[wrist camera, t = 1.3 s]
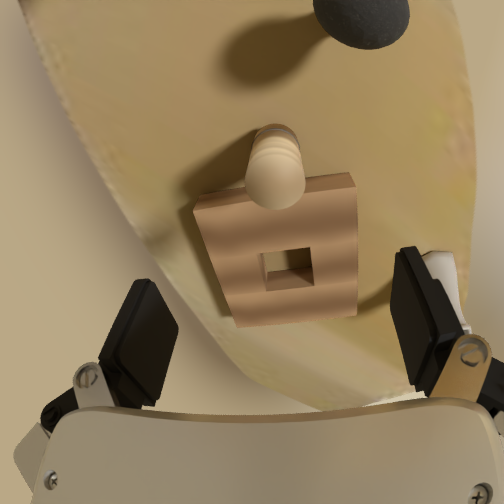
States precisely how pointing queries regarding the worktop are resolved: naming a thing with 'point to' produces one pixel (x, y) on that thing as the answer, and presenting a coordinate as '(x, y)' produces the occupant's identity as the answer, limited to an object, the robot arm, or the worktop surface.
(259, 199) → the peg
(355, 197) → the board
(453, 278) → the flask
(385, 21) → the light bulb
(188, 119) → the worktop surface
